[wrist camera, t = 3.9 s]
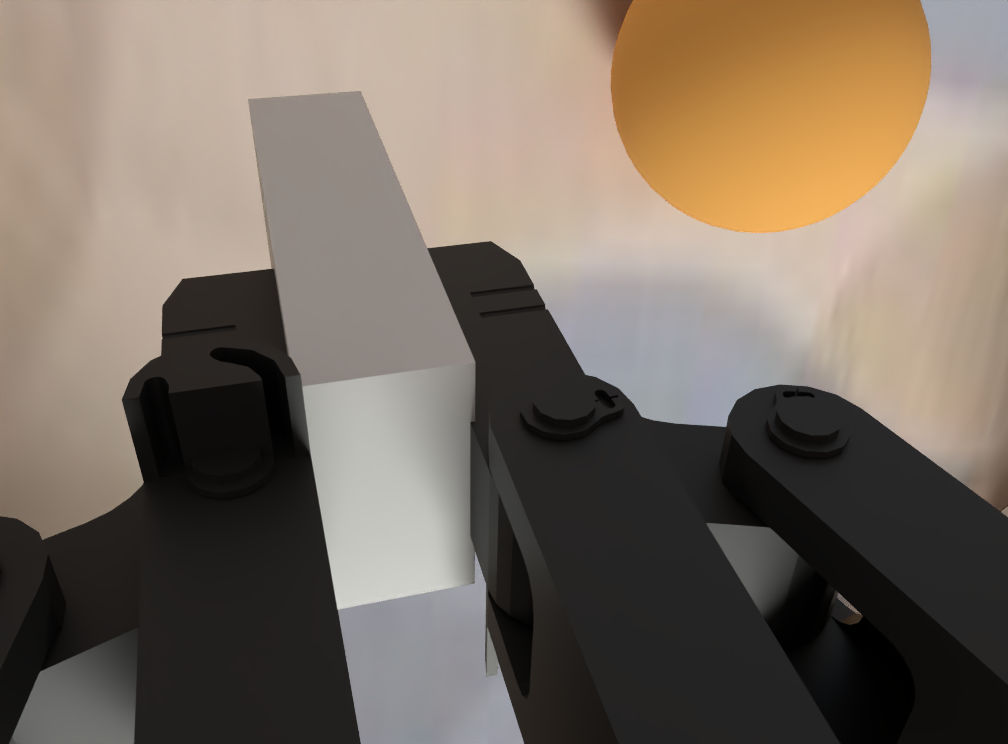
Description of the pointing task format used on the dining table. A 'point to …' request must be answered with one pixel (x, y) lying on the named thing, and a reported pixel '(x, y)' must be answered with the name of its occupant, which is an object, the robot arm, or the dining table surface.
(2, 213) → the dining table surface
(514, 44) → the dining table surface
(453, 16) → the dining table surface
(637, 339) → the dining table surface
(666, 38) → the ball
